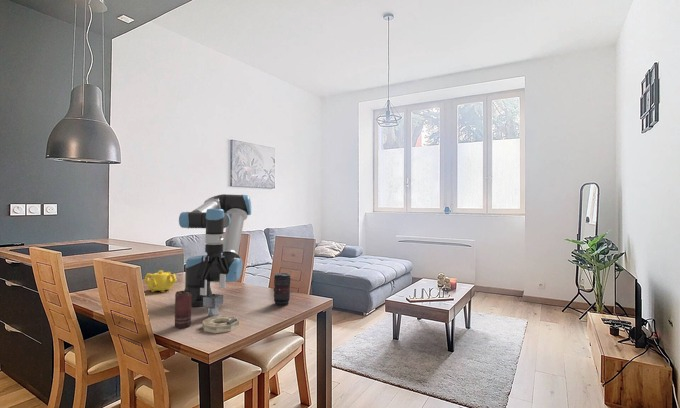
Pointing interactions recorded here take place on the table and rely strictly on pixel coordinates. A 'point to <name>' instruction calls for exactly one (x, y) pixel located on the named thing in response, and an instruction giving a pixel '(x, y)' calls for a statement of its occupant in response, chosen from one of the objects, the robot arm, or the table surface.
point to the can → (183, 309)
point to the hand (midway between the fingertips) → (213, 291)
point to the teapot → (160, 281)
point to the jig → (220, 324)
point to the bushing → (212, 303)
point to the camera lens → (282, 289)
